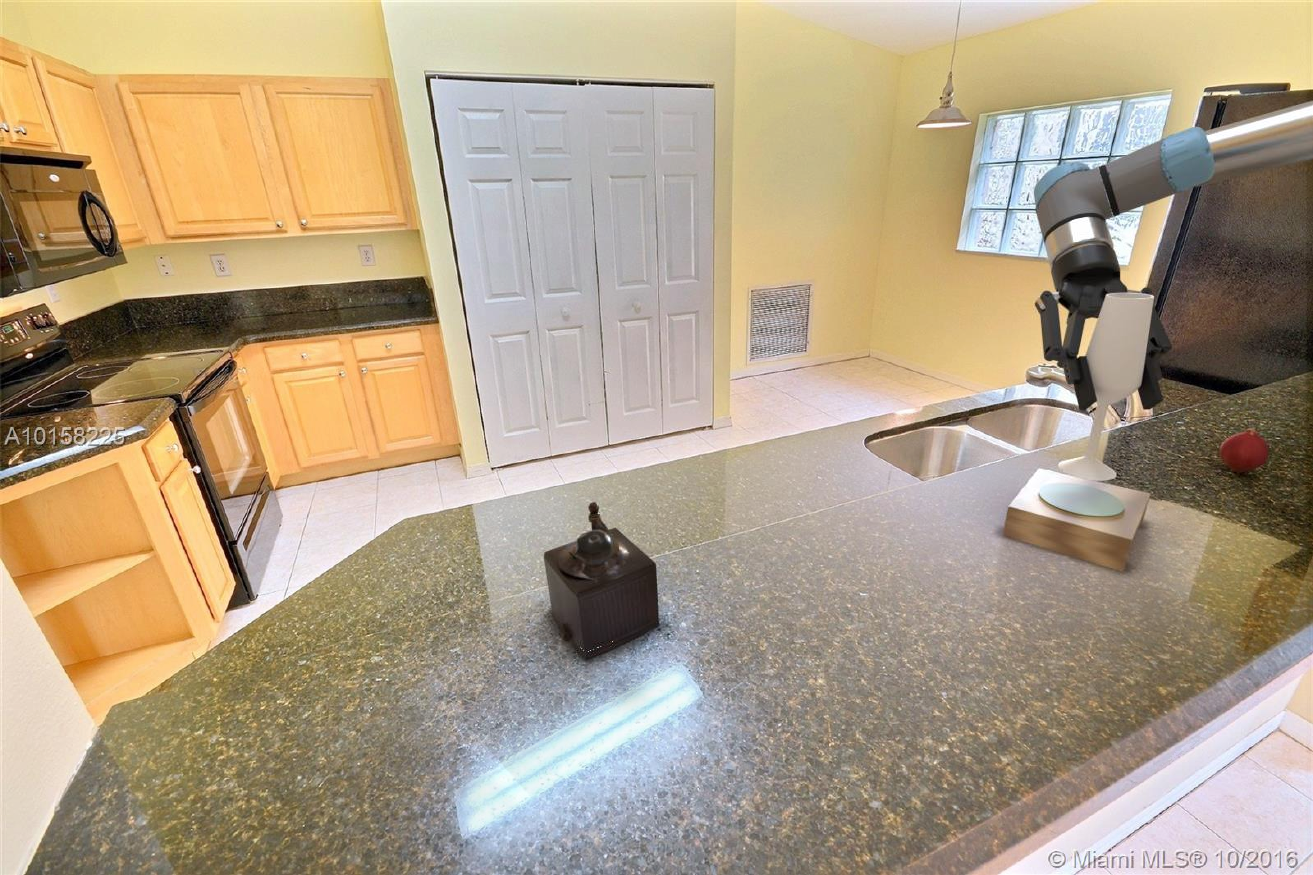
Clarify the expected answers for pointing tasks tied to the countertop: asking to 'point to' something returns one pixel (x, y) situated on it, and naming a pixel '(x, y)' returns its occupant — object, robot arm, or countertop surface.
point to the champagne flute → (1113, 369)
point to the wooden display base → (1077, 517)
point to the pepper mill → (601, 589)
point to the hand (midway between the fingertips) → (1120, 404)
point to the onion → (1244, 451)
